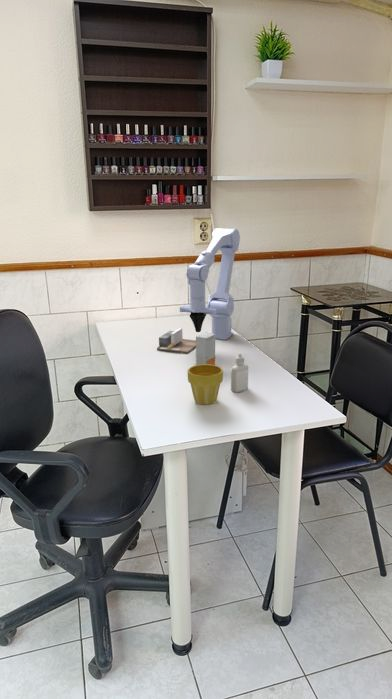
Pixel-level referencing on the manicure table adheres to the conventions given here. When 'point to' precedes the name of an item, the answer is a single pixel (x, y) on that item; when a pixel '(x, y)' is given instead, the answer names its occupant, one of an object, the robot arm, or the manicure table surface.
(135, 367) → the manicure table surface
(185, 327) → the manicure table surface
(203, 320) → the robot arm
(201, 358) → the skincare box
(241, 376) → the eye dropper bottle
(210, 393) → the plant pot
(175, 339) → the paddle
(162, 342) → the gauge frame
